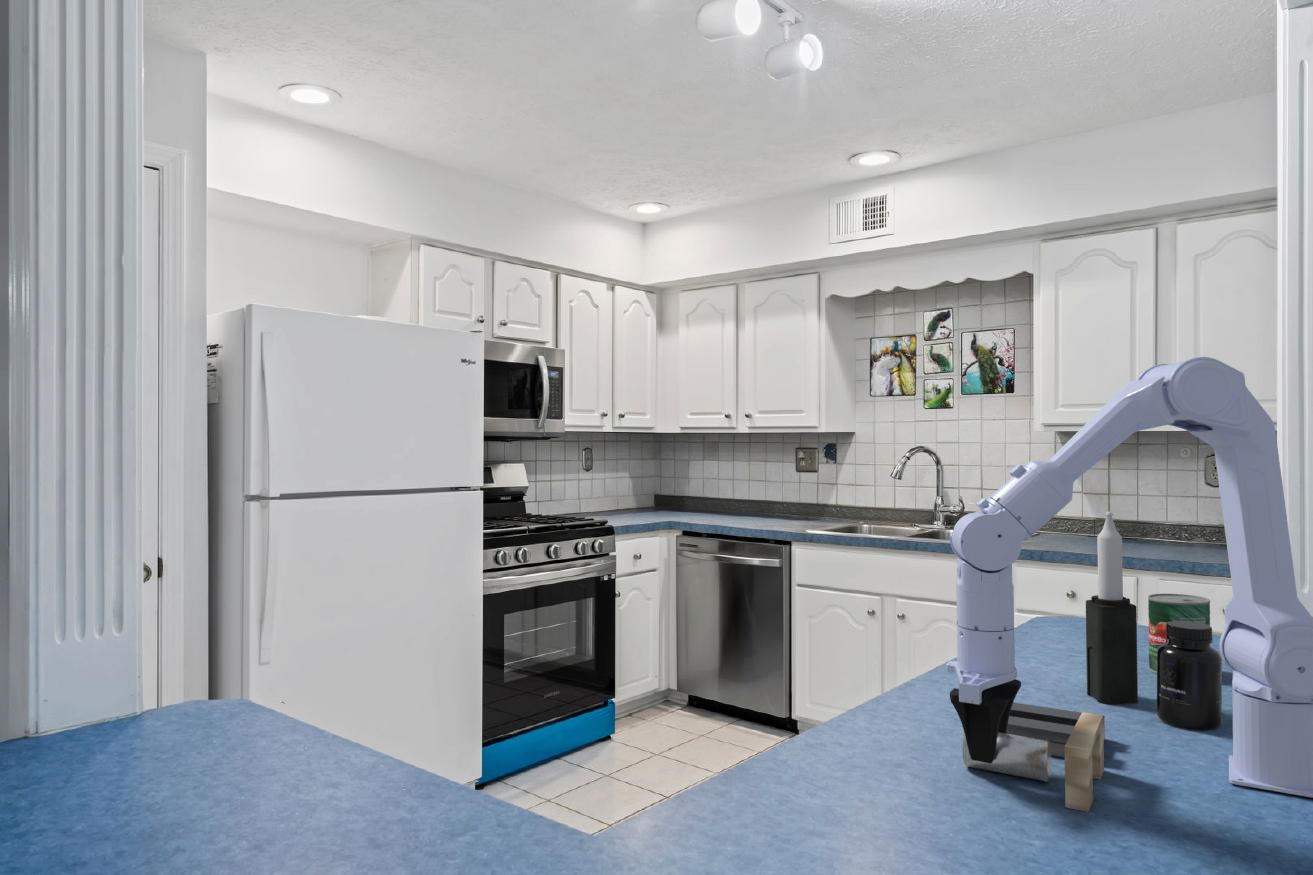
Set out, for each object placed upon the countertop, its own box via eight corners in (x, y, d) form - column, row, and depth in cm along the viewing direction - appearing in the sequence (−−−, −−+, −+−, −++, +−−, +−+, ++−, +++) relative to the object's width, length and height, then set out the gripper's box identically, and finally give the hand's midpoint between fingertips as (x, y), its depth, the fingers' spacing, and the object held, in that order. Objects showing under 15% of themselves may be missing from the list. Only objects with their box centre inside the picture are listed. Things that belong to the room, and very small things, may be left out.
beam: (1103, 769, 91) (1103, 714, 91) (1088, 811, 81) (1087, 750, 81) (1082, 766, 92) (1082, 711, 92) (1065, 807, 82) (1064, 746, 82)
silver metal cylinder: (1051, 776, 90) (1051, 736, 90) (1044, 785, 87) (1044, 745, 87) (971, 761, 94) (972, 723, 95) (962, 770, 91) (962, 731, 91)
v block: (1105, 738, 100) (1104, 715, 100) (1095, 763, 93) (1094, 738, 93) (996, 721, 107) (996, 699, 107) (979, 743, 100) (978, 719, 100)
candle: (1141, 703, 113) (1138, 513, 113) (1102, 704, 113) (1099, 513, 113) (1121, 692, 118) (1118, 509, 118) (1083, 692, 118) (1081, 510, 118)
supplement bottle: (1158, 726, 104) (1156, 627, 104) (1155, 710, 110) (1154, 616, 110) (1226, 735, 101) (1224, 632, 101) (1219, 717, 107) (1218, 621, 107)
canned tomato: (1136, 669, 130) (1135, 596, 130) (1171, 662, 133) (1170, 591, 133) (1188, 682, 122) (1187, 605, 122) (1223, 675, 126) (1222, 599, 126)
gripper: (963, 610, 100) (965, 727, 100) (927, 635, 88) (929, 768, 88) (1028, 616, 96) (1030, 738, 96) (1000, 643, 84) (1002, 782, 84)
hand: (987, 753), depth 92 cm, fingers closed on silver metal cylinder, 4 cm apart
